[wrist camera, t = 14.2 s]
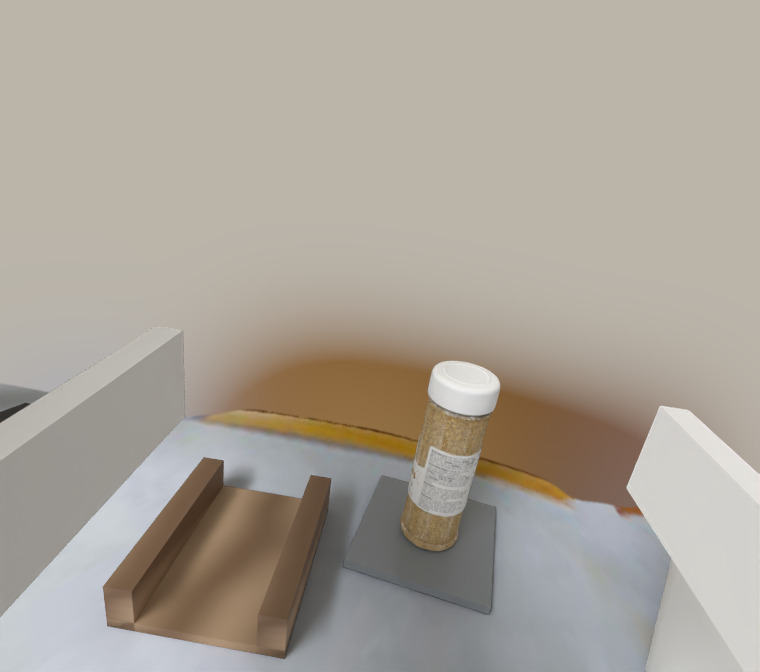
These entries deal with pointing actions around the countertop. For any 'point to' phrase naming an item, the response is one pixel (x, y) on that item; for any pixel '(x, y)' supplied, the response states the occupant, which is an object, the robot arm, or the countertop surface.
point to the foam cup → (686, 634)
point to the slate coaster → (426, 551)
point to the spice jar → (448, 452)
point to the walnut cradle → (221, 565)
